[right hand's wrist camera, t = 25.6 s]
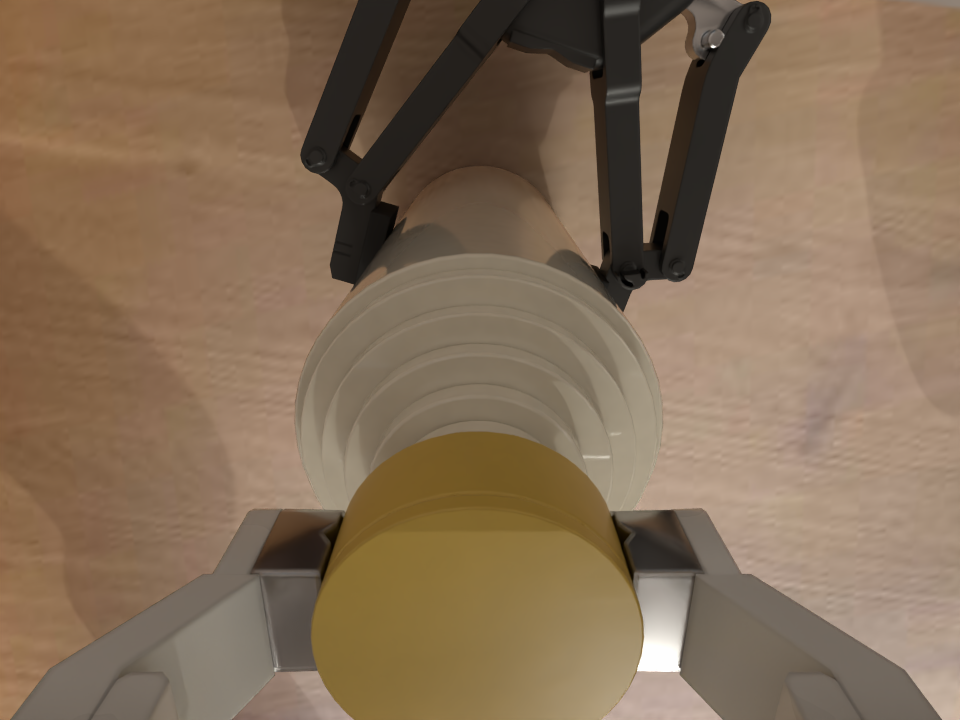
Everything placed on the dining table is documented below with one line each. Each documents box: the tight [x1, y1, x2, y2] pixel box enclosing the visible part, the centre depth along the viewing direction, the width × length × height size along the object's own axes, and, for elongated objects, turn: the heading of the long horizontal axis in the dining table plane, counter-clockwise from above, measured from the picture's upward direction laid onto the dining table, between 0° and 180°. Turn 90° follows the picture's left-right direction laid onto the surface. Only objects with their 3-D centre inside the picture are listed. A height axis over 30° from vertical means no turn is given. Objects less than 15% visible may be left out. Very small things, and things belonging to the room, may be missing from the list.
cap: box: [311, 431, 644, 720], centre depth 9 cm, size 4×4×2 cm
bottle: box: [295, 166, 663, 512], centre depth 21 cm, size 8×8×25 cm
